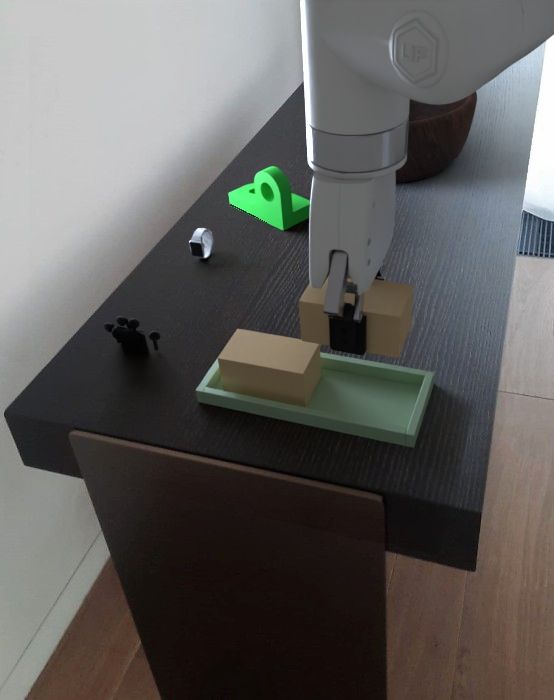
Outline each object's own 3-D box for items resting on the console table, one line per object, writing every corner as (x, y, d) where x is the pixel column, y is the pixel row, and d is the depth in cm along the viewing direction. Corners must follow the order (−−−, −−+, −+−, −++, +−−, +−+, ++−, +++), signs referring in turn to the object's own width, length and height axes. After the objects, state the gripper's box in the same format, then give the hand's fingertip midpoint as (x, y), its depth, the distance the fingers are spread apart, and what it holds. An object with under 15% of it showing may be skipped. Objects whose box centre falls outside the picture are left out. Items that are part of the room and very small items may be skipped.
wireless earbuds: (167, 354, 79) (158, 318, 75) (156, 368, 77) (147, 332, 74) (113, 344, 81) (103, 308, 78) (101, 357, 79) (90, 321, 76)
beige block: (223, 391, 72) (217, 358, 69) (242, 361, 76) (237, 328, 73) (305, 408, 69) (303, 374, 66) (321, 376, 73) (319, 342, 70)
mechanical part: (314, 214, 101) (311, 162, 96) (283, 230, 98) (278, 177, 93) (260, 191, 108) (254, 141, 103) (230, 205, 106) (222, 154, 101)
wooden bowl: (494, 140, 116) (502, 76, 109) (432, 205, 100) (436, 135, 94) (360, 119, 128) (359, 61, 121) (285, 175, 112) (280, 111, 106)
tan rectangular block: (411, 325, 65) (414, 284, 62) (398, 358, 61) (400, 317, 58) (318, 309, 67) (316, 270, 65) (301, 341, 64) (298, 300, 61)
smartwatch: (204, 247, 96) (200, 222, 94) (218, 250, 95) (214, 224, 93) (191, 261, 94) (186, 235, 91) (205, 264, 93) (201, 237, 90)
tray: (198, 404, 72) (195, 390, 70) (234, 350, 78) (231, 336, 77) (413, 451, 64) (414, 435, 63) (433, 387, 71) (434, 372, 70)
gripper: (342, 96, 60) (344, 275, 71) (268, 185, 48) (286, 383, 59) (430, 102, 57) (418, 286, 69) (376, 197, 45) (372, 401, 57)
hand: (357, 329), depth 64 cm, fingers closed on tan rectangular block, 5 cm apart
